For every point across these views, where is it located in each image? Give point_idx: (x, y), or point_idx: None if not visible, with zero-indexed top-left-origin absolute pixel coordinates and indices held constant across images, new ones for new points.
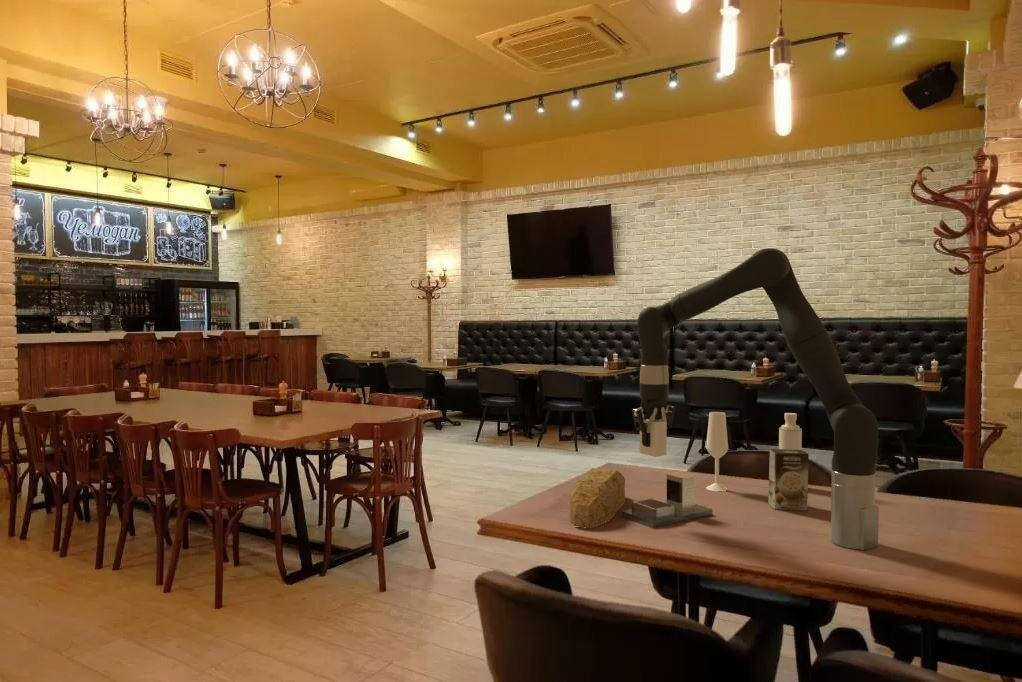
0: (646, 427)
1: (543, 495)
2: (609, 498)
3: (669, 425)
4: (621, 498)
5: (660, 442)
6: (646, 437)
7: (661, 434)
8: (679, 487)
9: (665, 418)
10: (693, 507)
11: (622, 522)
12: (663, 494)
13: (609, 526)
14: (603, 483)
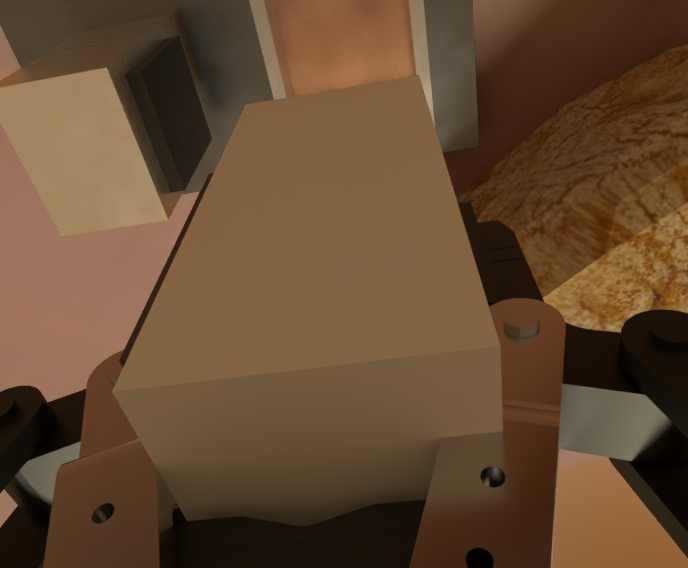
0: (562, 381)
1: (560, 461)
2: (610, 145)
3: (17, 420)
4: None
5: (330, 152)
6: (512, 275)
7: (302, 212)
8: (149, 62)
9: (69, 515)
10: (86, 31)
11: (537, 45)
12: (111, 342)
13: (645, 7)
14: (633, 234)
